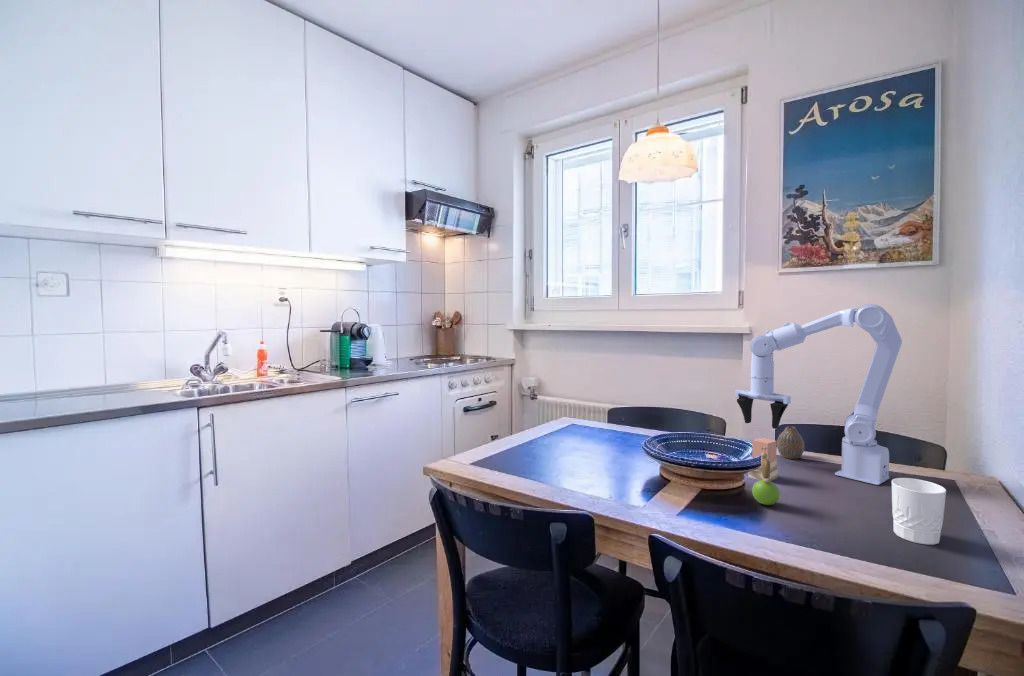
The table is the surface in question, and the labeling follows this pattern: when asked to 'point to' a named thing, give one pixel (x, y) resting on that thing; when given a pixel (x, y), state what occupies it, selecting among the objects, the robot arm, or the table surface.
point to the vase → (790, 443)
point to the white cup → (918, 510)
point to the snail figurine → (765, 484)
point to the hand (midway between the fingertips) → (761, 425)
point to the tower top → (772, 466)
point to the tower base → (758, 475)
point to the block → (769, 451)
